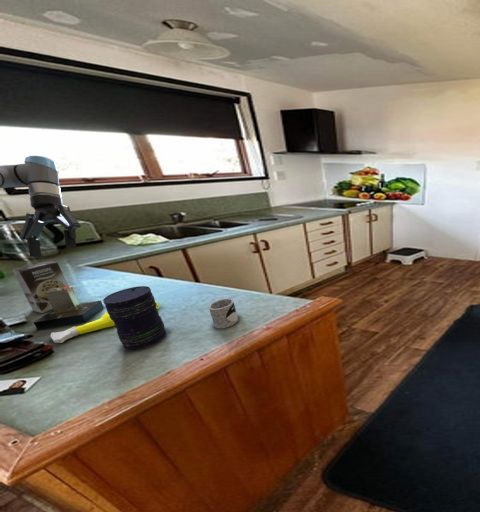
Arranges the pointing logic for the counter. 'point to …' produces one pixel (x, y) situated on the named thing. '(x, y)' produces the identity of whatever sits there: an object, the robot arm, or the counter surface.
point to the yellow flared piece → (85, 328)
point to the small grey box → (63, 299)
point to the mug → (223, 313)
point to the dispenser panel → (69, 316)
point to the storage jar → (135, 317)
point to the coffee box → (40, 283)
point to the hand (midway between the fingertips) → (53, 252)
